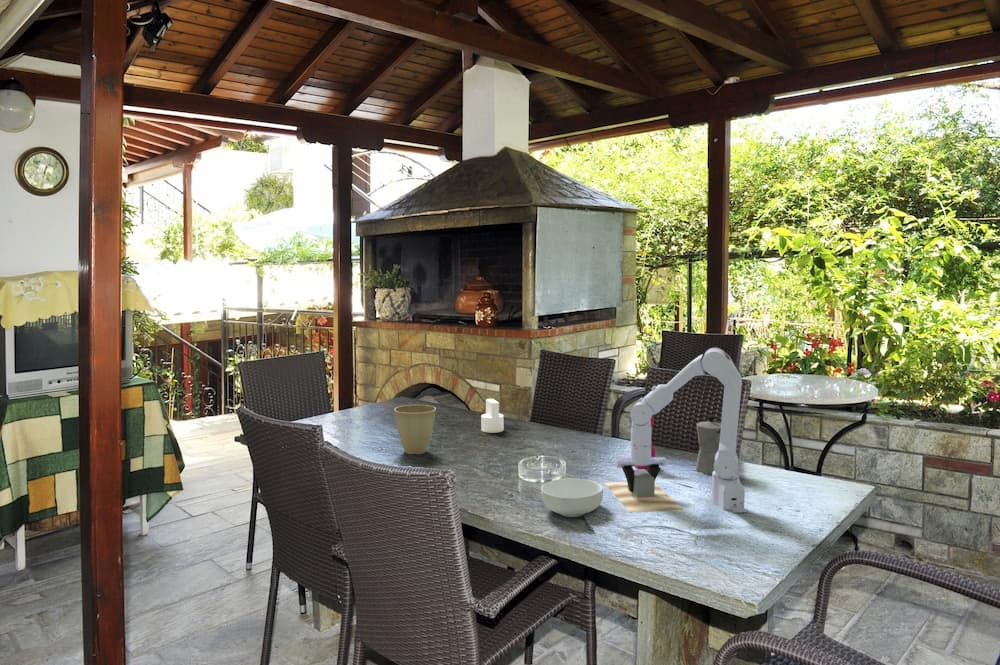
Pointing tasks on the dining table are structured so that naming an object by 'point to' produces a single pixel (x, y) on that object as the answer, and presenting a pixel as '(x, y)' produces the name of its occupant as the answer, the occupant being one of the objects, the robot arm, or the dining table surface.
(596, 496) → the cereal bowl
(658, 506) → the birch board
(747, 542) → the dining table surface
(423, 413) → the plant pot
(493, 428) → the base with upright slab
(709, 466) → the coffeepot
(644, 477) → the block
